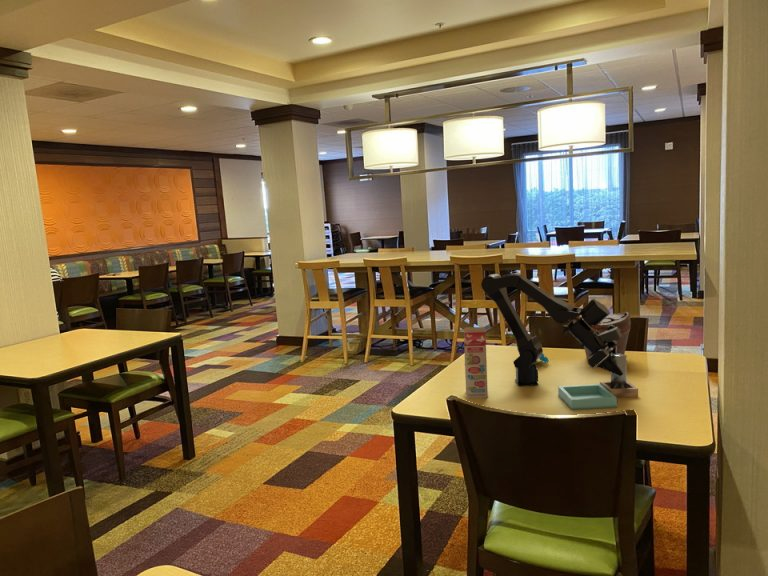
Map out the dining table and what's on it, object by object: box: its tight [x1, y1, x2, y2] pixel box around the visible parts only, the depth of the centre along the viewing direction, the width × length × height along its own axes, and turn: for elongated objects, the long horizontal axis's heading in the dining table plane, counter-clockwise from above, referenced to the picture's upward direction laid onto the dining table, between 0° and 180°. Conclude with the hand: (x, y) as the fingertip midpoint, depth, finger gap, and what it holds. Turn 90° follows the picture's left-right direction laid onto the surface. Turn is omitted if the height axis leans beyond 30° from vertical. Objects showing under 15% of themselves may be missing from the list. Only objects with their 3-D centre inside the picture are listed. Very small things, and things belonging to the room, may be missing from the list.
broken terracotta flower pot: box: [578, 311, 632, 360], centre depth 220 cm, size 18×20×18 cm
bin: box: [557, 383, 618, 411], centre depth 177 cm, size 13×13×3 cm
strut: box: [610, 353, 627, 389], centre depth 182 cm, size 4×4×12 cm
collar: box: [599, 379, 639, 399], centre depth 183 cm, size 8×8×2 cm
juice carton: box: [463, 326, 489, 399], centre depth 187 cm, size 7×7×22 cm
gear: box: [538, 353, 550, 363], centre depth 221 cm, size 11×6×10 cm
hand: (623, 372), depth 181 cm, fingers closed on strut, 4 cm apart
